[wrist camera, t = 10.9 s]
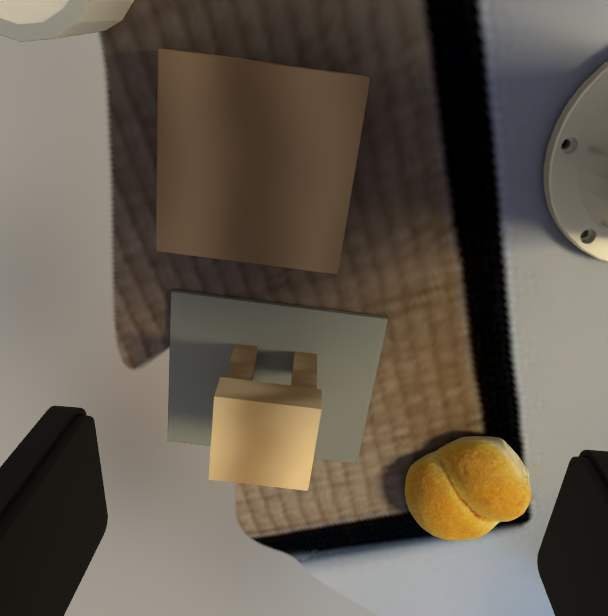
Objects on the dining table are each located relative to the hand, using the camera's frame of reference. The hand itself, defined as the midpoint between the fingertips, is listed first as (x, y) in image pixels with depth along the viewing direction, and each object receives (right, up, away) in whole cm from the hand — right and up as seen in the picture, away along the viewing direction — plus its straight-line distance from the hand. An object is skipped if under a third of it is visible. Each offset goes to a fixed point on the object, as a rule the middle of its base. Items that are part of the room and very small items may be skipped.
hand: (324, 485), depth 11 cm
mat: (-3, -2, +27) cm, 27 cm away
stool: (-3, -2, +26) cm, 26 cm away
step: (-3, +12, +20) cm, 24 cm away
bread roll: (+12, -9, +30) cm, 34 cm away
